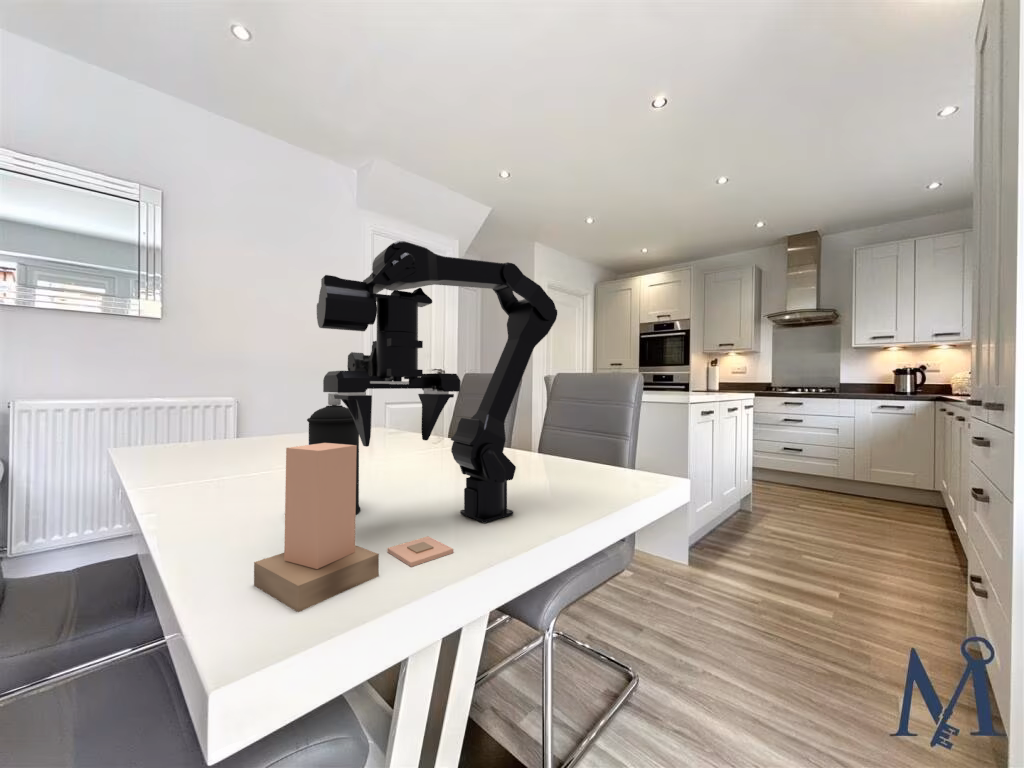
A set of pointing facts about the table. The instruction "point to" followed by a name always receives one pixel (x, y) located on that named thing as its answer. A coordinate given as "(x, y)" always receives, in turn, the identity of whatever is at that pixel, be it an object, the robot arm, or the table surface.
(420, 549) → the tile
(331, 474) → the terracotta block
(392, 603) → the table surface
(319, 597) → the walnut slab
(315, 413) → the aerosol can
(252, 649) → the table surface
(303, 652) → the table surface
